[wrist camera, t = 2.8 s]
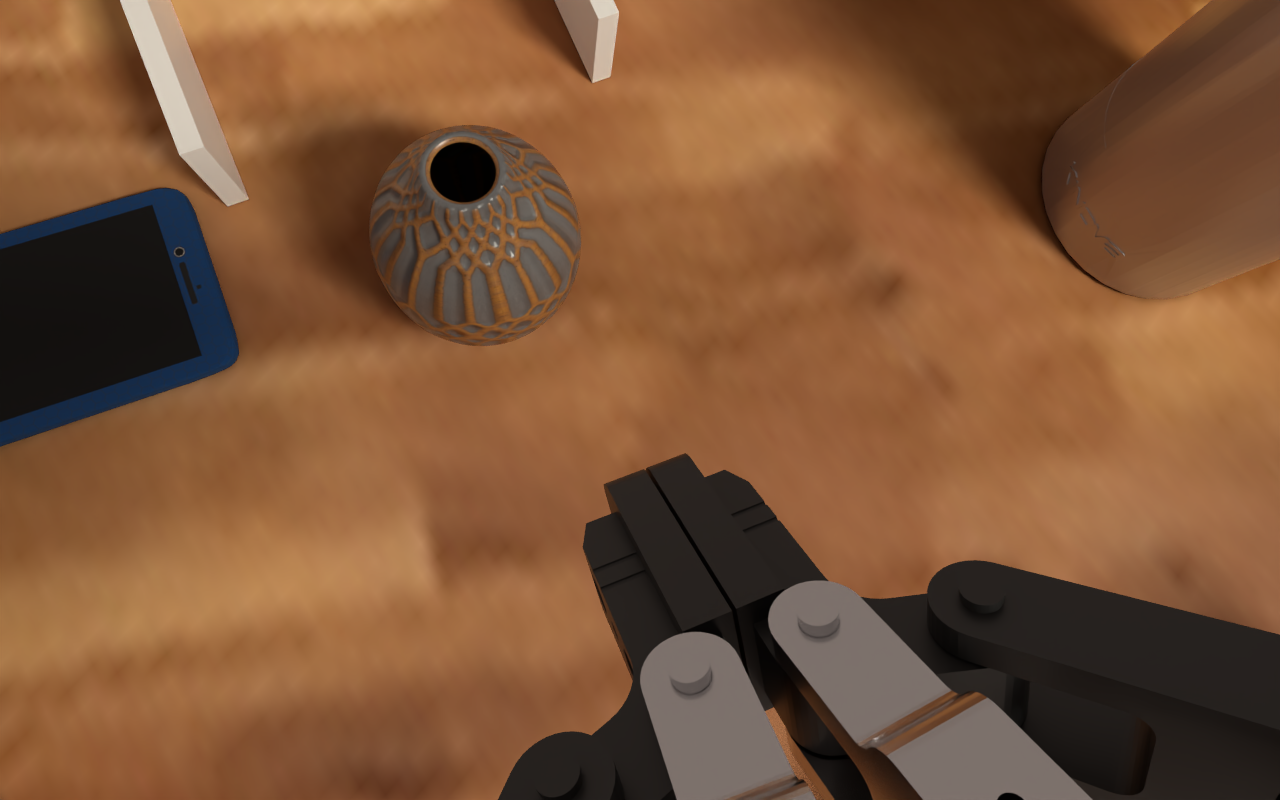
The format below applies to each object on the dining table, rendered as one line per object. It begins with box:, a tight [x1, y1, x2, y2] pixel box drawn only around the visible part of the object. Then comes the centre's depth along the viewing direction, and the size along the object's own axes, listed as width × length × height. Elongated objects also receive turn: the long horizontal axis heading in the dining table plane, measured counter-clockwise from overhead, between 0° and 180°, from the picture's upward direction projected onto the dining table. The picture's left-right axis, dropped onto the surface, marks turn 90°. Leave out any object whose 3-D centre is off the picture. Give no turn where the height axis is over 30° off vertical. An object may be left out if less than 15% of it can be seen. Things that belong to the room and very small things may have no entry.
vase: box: [369, 125, 581, 346], centre depth 26 cm, size 7×7×9 cm
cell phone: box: [0, 188, 239, 446], centre depth 28 cm, size 7×14×1 cm, turn 112°
